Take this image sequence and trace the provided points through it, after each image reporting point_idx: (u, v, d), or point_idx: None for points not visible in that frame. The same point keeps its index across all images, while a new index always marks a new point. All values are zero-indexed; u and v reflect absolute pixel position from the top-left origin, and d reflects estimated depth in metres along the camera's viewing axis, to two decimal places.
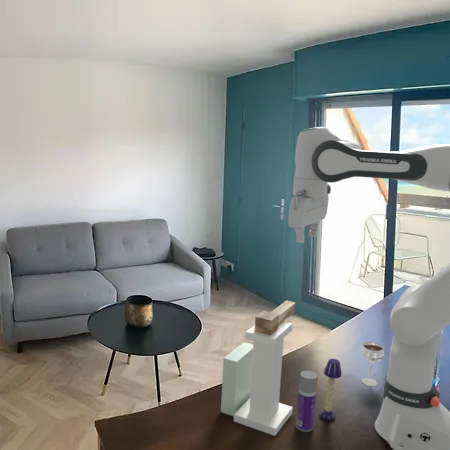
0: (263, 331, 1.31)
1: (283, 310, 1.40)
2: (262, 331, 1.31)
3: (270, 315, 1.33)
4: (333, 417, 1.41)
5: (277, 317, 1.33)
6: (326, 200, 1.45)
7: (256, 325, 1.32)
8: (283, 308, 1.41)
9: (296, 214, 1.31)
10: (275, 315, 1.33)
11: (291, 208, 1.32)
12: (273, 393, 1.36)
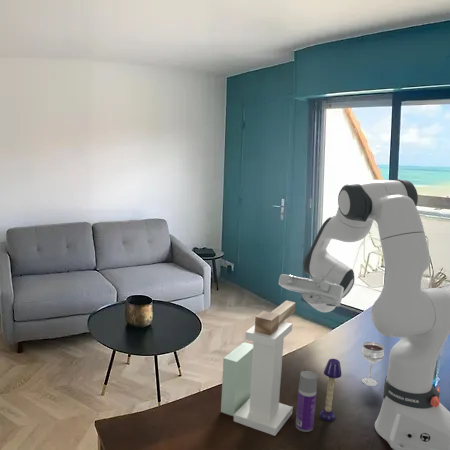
0: (263, 331, 1.31)
1: (283, 310, 1.40)
2: (262, 331, 1.31)
3: (270, 315, 1.33)
4: (333, 417, 1.41)
5: (277, 317, 1.33)
6: None
7: (256, 325, 1.32)
8: (283, 308, 1.41)
9: None
10: (275, 315, 1.33)
11: None
12: (273, 393, 1.36)
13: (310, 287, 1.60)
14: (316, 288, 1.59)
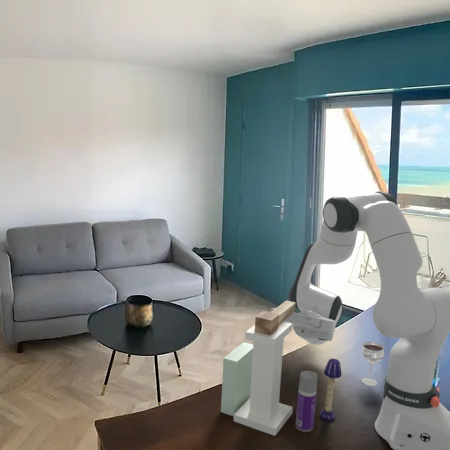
0: (263, 331, 1.31)
1: (283, 310, 1.40)
2: (262, 331, 1.31)
3: (270, 315, 1.33)
4: (333, 417, 1.41)
5: (277, 317, 1.33)
6: None
7: (256, 325, 1.32)
8: (283, 308, 1.41)
9: None
10: (275, 315, 1.33)
11: None
12: (273, 393, 1.36)
13: (301, 322, 1.56)
14: (307, 323, 1.56)
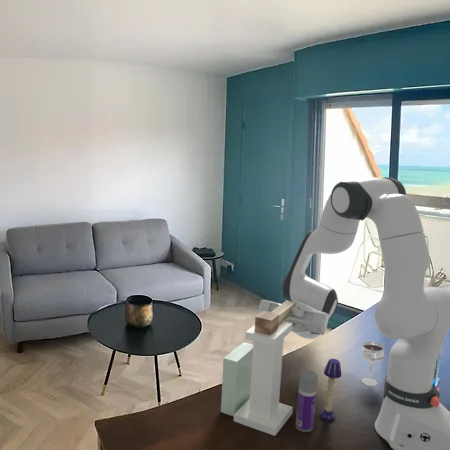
0: (263, 331, 1.31)
1: (283, 310, 1.40)
2: (262, 331, 1.31)
3: (270, 315, 1.33)
4: (333, 417, 1.41)
5: (277, 317, 1.33)
6: None
7: (256, 325, 1.32)
8: (283, 308, 1.41)
9: None
10: (275, 315, 1.33)
11: None
12: (273, 393, 1.36)
13: (292, 315, 1.48)
14: None
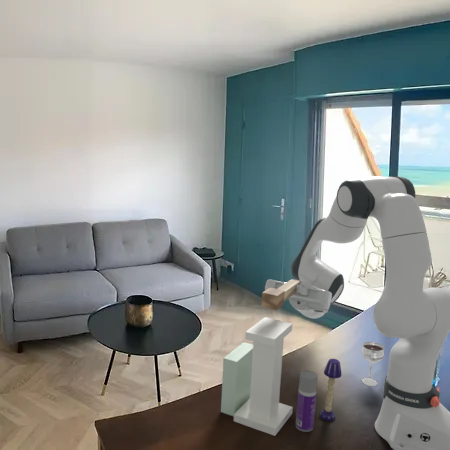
0: (269, 306, 1.38)
1: (289, 287, 1.47)
2: (269, 306, 1.38)
3: (276, 291, 1.40)
4: (333, 417, 1.41)
5: (283, 293, 1.40)
6: None
7: (263, 300, 1.39)
8: (289, 286, 1.48)
9: None
10: (281, 291, 1.40)
11: None
12: (273, 393, 1.36)
13: (297, 293, 1.55)
14: None
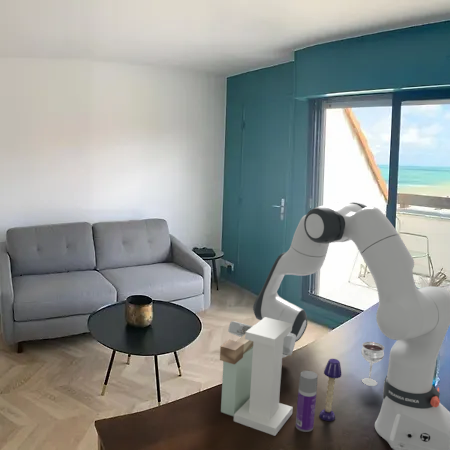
0: (228, 360, 1.37)
1: None
2: (227, 360, 1.37)
3: (235, 344, 1.38)
4: (333, 417, 1.41)
5: (242, 346, 1.38)
6: None
7: (221, 354, 1.37)
8: None
9: None
10: (240, 344, 1.38)
11: None
12: (273, 393, 1.36)
13: None
14: None
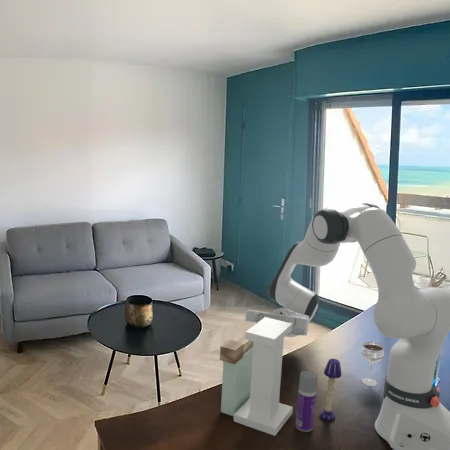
0: (228, 360, 1.37)
1: None
2: (227, 360, 1.37)
3: (235, 344, 1.38)
4: (333, 417, 1.41)
5: (242, 346, 1.38)
6: (304, 317, 1.64)
7: (221, 354, 1.37)
8: None
9: None
10: (240, 344, 1.38)
11: None
12: (273, 393, 1.36)
13: None
14: None
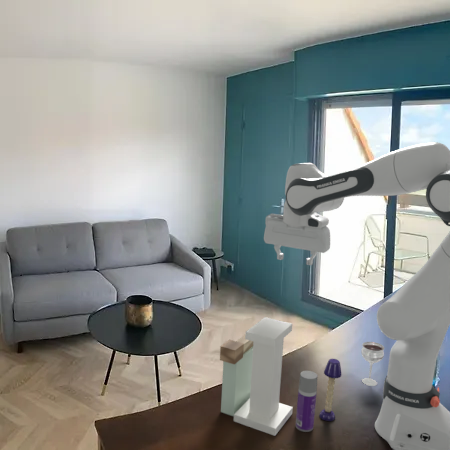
0: (228, 360, 1.37)
1: None
2: (227, 360, 1.37)
3: (235, 344, 1.38)
4: (333, 417, 1.41)
5: (242, 346, 1.38)
6: (320, 234, 1.50)
7: (221, 354, 1.37)
8: None
9: None
10: (240, 344, 1.38)
11: None
12: (273, 393, 1.36)
13: None
14: None
